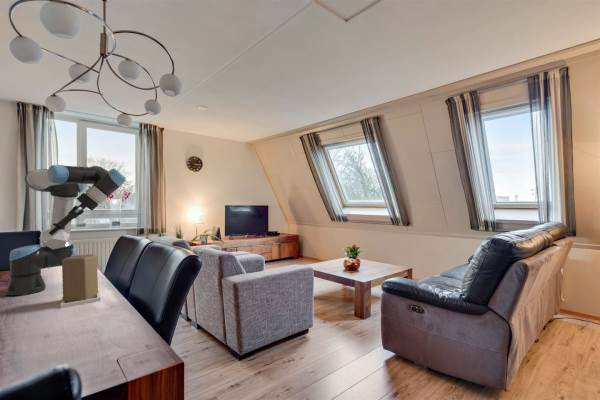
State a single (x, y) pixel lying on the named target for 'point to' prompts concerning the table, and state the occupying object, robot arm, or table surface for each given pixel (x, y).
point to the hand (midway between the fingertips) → (43, 239)
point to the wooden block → (79, 278)
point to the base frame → (80, 301)
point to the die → (57, 240)
